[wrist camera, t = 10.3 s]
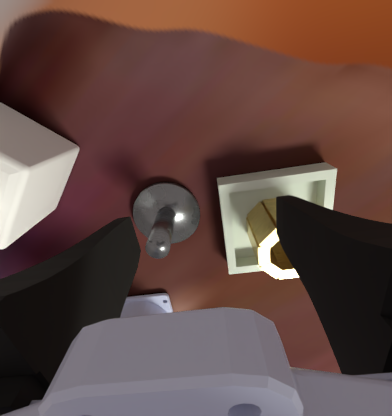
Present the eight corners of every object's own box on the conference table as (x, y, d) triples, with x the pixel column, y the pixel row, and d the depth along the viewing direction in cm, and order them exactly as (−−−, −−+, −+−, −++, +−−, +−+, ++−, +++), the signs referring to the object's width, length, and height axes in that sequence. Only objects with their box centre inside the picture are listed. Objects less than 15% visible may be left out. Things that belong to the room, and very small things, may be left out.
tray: (317, 251, 25) (327, 263, 23) (227, 261, 25) (229, 274, 24) (324, 162, 21) (337, 168, 19) (216, 178, 21) (218, 185, 20)
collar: (299, 194, 21) (327, 221, 17) (297, 249, 24) (320, 284, 19) (244, 202, 22) (256, 229, 17) (248, 255, 24) (260, 291, 20)
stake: (204, 236, 24) (205, 276, 19) (143, 243, 25) (128, 285, 19) (194, 177, 21) (192, 204, 16) (126, 187, 22) (102, 216, 16)
